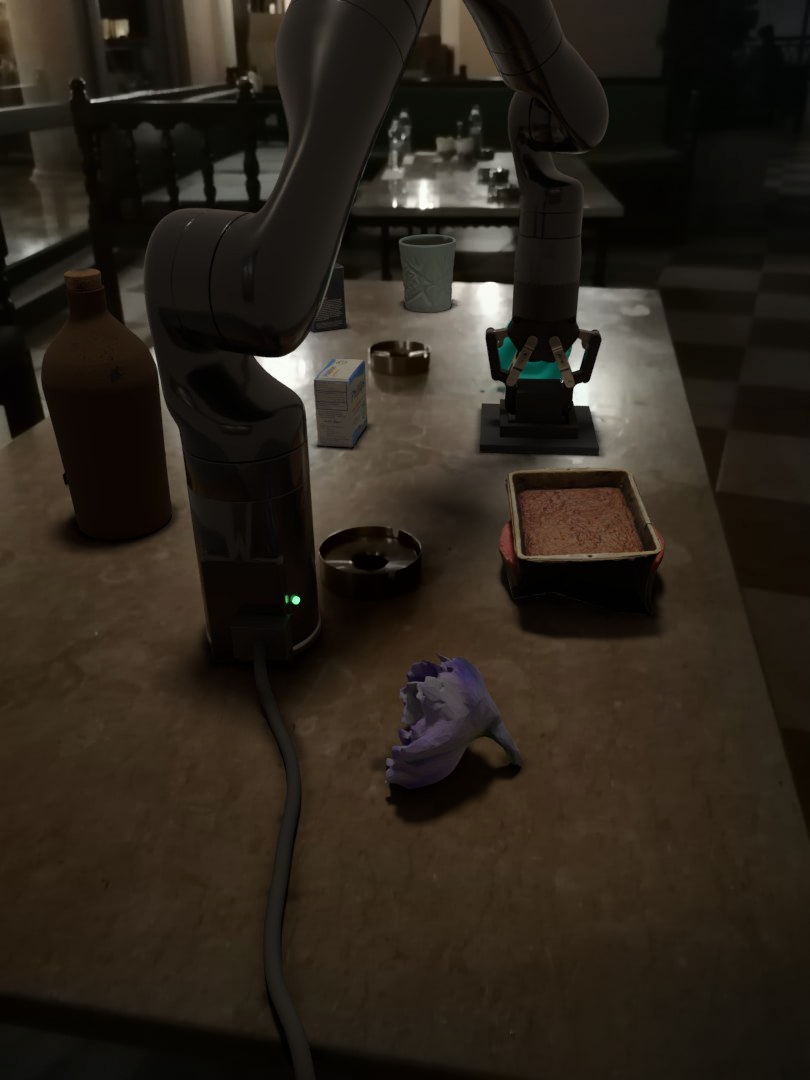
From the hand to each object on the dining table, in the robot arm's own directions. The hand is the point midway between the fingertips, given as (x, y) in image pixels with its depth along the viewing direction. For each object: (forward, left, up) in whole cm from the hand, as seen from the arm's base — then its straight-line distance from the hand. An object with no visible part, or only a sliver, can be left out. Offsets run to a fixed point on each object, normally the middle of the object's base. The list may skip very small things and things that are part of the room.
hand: (537, 412), depth 112 cm
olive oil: (-27, +43, -3) cm, 51 cm away
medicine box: (-3, +24, -3) cm, 24 cm away
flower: (-60, +8, -3) cm, 61 cm away
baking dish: (-35, -3, -3) cm, 35 cm away
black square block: (0, 0, 0) cm, 0 cm away
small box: (+48, +36, -3) cm, 60 cm away
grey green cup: (+60, +18, -3) cm, 63 cm away
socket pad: (0, 0, -2) cm, 2 cm away
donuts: (+18, 0, -3) cm, 18 cm away
